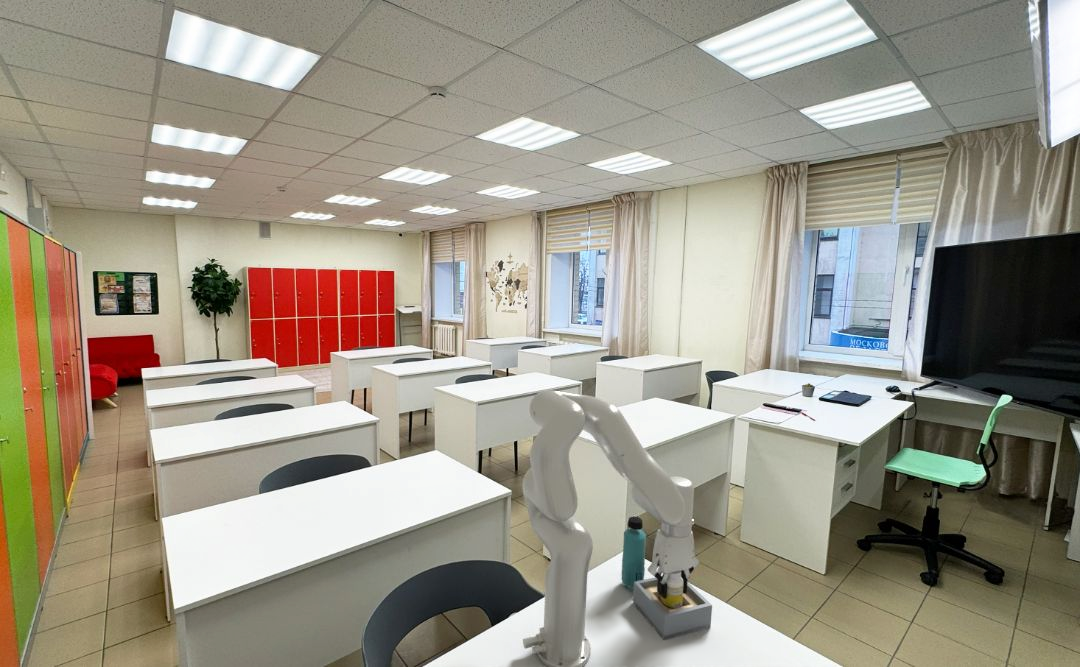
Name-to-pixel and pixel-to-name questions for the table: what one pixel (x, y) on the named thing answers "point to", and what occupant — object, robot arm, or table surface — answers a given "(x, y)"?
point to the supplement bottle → (673, 591)
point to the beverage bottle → (633, 552)
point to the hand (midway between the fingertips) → (671, 592)
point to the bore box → (672, 610)
